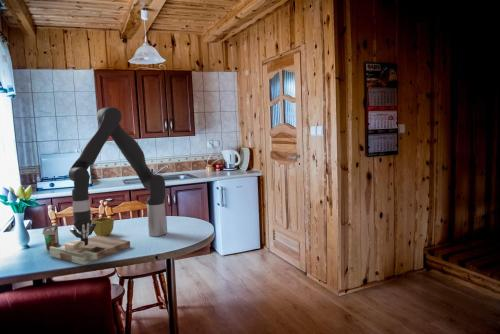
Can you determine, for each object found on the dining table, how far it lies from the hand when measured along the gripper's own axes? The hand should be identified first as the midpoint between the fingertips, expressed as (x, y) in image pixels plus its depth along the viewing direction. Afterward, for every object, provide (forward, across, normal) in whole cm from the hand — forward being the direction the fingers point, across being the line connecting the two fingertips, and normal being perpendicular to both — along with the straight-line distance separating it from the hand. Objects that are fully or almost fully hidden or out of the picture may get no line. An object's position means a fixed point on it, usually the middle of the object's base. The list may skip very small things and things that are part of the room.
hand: (84, 245), depth 174 cm
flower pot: (+4, -24, -18) cm, 30 cm away
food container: (+4, +2, -25) cm, 25 cm away
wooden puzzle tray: (+4, -3, 0) cm, 5 cm away
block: (+1, +5, 0) cm, 5 cm away
